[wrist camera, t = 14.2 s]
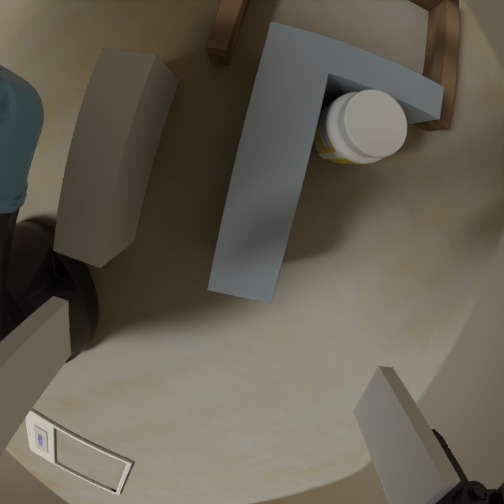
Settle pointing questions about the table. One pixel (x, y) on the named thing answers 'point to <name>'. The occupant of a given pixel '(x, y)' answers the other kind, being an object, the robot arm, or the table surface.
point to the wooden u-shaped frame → (436, 58)
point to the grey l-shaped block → (294, 145)
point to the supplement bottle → (360, 128)
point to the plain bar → (112, 155)
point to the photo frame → (44, 445)
